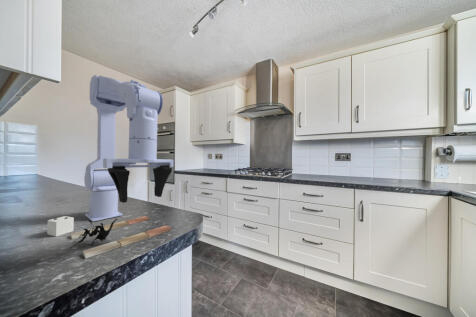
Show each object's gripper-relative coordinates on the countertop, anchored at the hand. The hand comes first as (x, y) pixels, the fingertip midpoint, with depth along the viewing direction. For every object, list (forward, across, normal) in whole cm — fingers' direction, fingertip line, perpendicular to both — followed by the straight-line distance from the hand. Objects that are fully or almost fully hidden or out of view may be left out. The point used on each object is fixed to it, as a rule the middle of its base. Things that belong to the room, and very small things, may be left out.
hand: (142, 198), depth 40 cm
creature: (+10, -7, +9) cm, 15 cm away
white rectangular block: (+10, -11, +21) cm, 25 cm away
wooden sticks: (+10, -1, +9) cm, 13 cm away
